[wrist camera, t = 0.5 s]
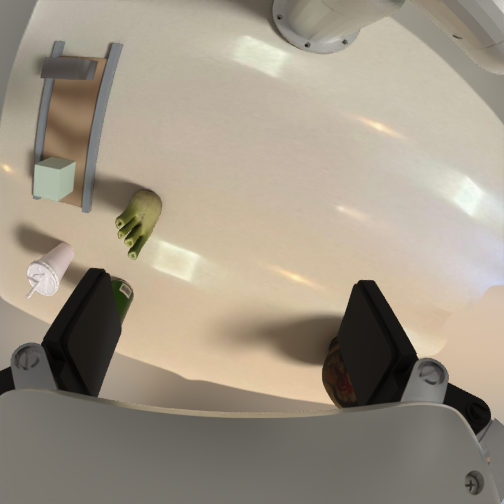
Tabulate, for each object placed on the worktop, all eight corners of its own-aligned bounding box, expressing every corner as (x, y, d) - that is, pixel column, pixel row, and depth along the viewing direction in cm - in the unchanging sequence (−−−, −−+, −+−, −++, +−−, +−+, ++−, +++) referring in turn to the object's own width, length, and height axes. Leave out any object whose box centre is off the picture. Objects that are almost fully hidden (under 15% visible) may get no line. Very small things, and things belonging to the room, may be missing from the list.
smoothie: (47, 247, 47) (8, 289, 35) (64, 229, 46) (22, 271, 33) (68, 271, 50) (34, 318, 38) (86, 255, 48) (50, 303, 36)
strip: (62, 56, 31) (38, 54, 25) (109, 59, 33) (89, 55, 27) (42, 195, 42) (21, 209, 36) (83, 205, 44) (64, 222, 38)
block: (51, 156, 38) (34, 164, 34) (75, 161, 39) (59, 169, 35) (49, 185, 41) (33, 195, 36) (73, 190, 42) (57, 201, 37)
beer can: (116, 272, 50) (91, 316, 40) (139, 289, 52) (120, 335, 42) (104, 290, 52) (80, 333, 42) (126, 305, 54) (107, 350, 43)
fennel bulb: (161, 224, 46) (139, 264, 36) (132, 218, 45) (104, 255, 35) (166, 190, 43) (144, 222, 33) (136, 184, 43) (106, 213, 32)
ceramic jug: (331, 375, 66) (358, 487, 40) (304, 341, 60) (332, 476, 34) (394, 344, 62) (442, 451, 36) (378, 303, 56) (440, 431, 30)
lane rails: (59, 41, 30) (55, 41, 29) (123, 44, 32) (120, 43, 31) (36, 196, 42) (33, 198, 41) (91, 210, 44) (88, 213, 43)
